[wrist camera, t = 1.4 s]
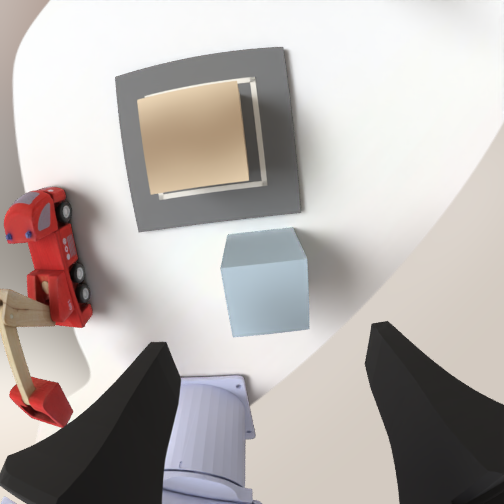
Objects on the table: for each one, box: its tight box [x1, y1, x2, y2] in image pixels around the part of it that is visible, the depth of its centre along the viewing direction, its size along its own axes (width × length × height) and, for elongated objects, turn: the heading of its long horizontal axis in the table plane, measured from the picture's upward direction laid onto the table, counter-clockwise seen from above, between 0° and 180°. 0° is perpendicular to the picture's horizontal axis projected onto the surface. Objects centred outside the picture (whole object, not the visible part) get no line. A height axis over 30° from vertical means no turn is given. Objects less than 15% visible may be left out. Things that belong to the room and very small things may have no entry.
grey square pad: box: [115, 47, 301, 232], centre depth 16 cm, size 10×10×1 cm
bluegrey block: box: [221, 227, 309, 337], centre depth 17 cm, size 4×4×5 cm
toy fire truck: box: [0, 187, 93, 428], centre depth 15 cm, size 3×14×10 cm, turn 2°
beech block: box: [137, 81, 249, 195], centre depth 14 cm, size 4×4×4 cm
